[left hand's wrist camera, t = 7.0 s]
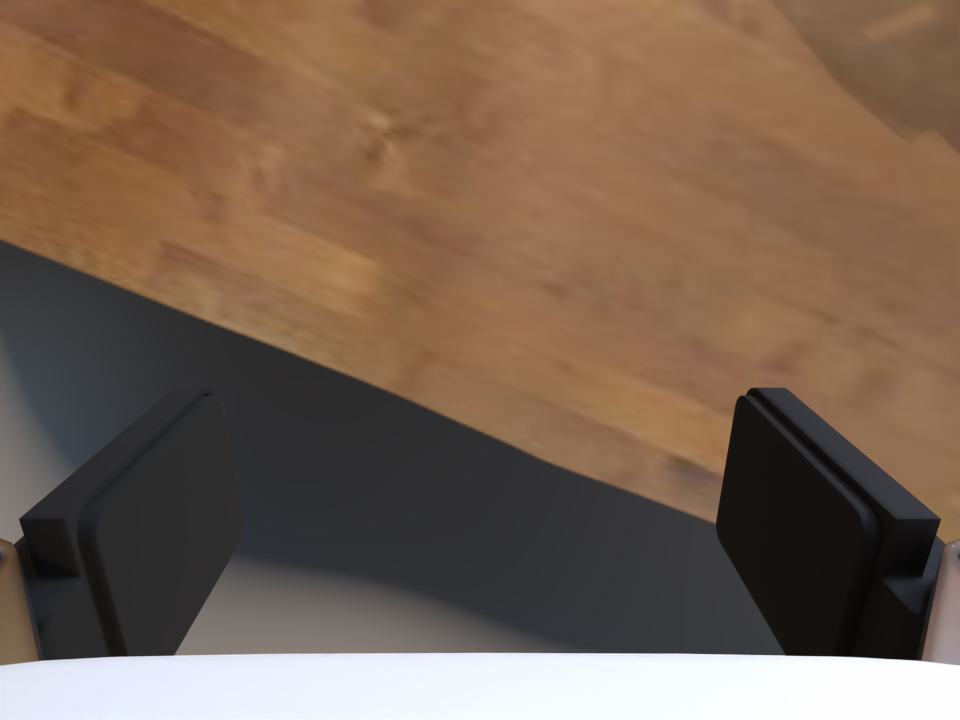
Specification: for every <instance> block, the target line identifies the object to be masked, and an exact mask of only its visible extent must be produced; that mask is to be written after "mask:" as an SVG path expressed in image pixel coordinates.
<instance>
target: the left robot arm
mask: <svg viewBox="0 0 960 720" xmlns="http://www.w3.org/2000/svg"><path fill="white" fill-rule="evenodd" d="M19 521H20V524H21V527H22V530H23V533H24V536H23V537H22V538H21V539H20V540H19V541H17V542H16V543H15V544H14V545H13V544H12V543H11V542H8V541H6V540H3V539H0V720H960V539H957V540H954V541H952V542H949V543H948V544H947V545H946V544H945V543H944V542H943V541H942V540H940V539H939V538H938V537H937V536H936V533H937V530H938V527H939V524H940V521H941V519H940V518H939V517H938V516H937V515H936V514H934V513H933V512H932V511H931V510H930V509H928V508H927V507H926V506H925V505H924V504H923V503H921V502H920V501H919V500H918V499H917V498H915V497H914V496H913V495H912V494H911V493H909V492H908V491H907V490H906V489H905V488H904V487H902V486H901V485H900V484H899V483H898V482H896V481H895V480H894V479H893V478H892V477H891V476H889V475H888V474H887V473H886V472H885V471H883V470H882V469H881V468H880V467H879V466H878V465H876V464H875V463H874V462H873V461H872V460H870V459H869V458H868V457H867V456H866V455H864V454H863V453H862V452H861V451H860V450H859V449H857V448H856V447H855V446H854V445H853V444H851V443H850V442H849V441H848V440H847V439H846V438H844V437H843V436H842V435H841V434H840V433H838V432H837V431H836V430H835V429H834V428H832V427H831V426H830V425H829V424H828V423H827V422H825V421H824V420H823V419H822V418H821V417H819V416H818V415H817V414H816V413H815V412H814V411H812V410H811V409H810V408H809V407H808V406H806V405H805V404H804V403H803V402H802V401H801V400H799V399H798V398H797V397H796V396H795V395H793V394H792V393H791V392H790V391H789V390H787V389H785V388H751V389H750V390H749V391H748V392H747V394H746V396H740V397H739V398H738V399H737V402H736V405H735V411H734V417H733V423H732V430H731V436H730V442H729V448H728V454H727V460H726V466H725V472H724V478H723V484H722V490H721V496H720V502H719V508H718V514H717V521H716V529H717V535H718V538H719V541H720V543H721V545H722V546H723V548H724V550H725V551H726V553H727V555H728V557H729V558H730V560H731V562H732V563H733V565H734V567H735V569H736V570H737V572H738V574H739V576H740V577H741V579H742V581H743V582H744V584H745V586H746V588H747V589H748V591H749V593H750V594H751V596H752V598H753V600H754V601H755V603H756V605H757V606H758V608H759V610H760V611H761V613H762V615H763V617H764V618H765V620H766V622H767V624H768V625H769V627H770V629H771V630H772V632H773V634H774V636H775V637H776V639H777V641H778V642H779V644H780V646H781V648H782V649H783V651H784V653H785V654H786V656H771V655H718V654H588V653H586V654H583V653H373V654H242V655H188V656H174V654H175V653H176V651H177V649H178V648H179V646H180V644H181V642H182V641H183V639H184V637H185V636H186V634H187V632H188V630H189V629H190V627H191V625H192V624H193V622H194V620H195V618H196V617H197V615H198V613H199V612H200V610H201V608H202V606H203V605H204V603H205V601H206V599H207V598H208V596H209V594H210V593H211V591H212V589H213V588H214V586H215V584H216V582H217V581H218V579H219V577H220V576H221V574H222V572H223V570H224V569H225V567H226V565H227V563H228V562H229V560H230V558H231V557H232V555H233V553H234V551H235V550H236V548H237V546H238V545H239V543H240V541H241V538H242V535H243V529H244V521H243V514H242V508H241V502H240V496H239V490H238V484H237V478H236V472H235V466H234V460H233V454H232V448H231V442H230V436H229V430H228V423H227V417H226V411H225V406H224V402H223V399H222V398H221V397H220V396H214V394H213V392H212V391H211V390H210V389H209V388H175V389H173V390H171V391H170V392H169V393H168V394H167V395H165V396H164V397H163V398H162V399H161V400H160V401H158V402H157V403H156V404H155V405H154V406H152V407H151V408H150V409H149V410H148V411H147V412H145V413H144V414H143V415H142V416H141V417H139V418H138V419H137V420H136V421H135V422H133V423H132V424H131V425H130V426H129V427H128V428H126V429H125V430H124V431H123V432H122V433H120V434H119V435H118V436H117V437H116V438H114V439H113V440H112V441H111V442H110V443H109V444H107V445H106V446H105V447H104V448H103V449H101V450H100V451H99V452H98V453H97V454H96V455H94V456H93V457H92V458H91V459H90V460H88V461H87V462H86V463H85V464H84V465H82V466H81V467H80V468H79V469H78V470H77V471H75V472H74V473H73V474H72V475H71V476H69V477H68V478H67V479H66V480H65V481H64V482H62V483H61V484H60V485H59V486H58V487H56V488H55V489H54V490H53V491H52V492H51V493H49V494H48V495H47V496H46V497H45V498H43V499H42V500H41V501H40V502H39V503H37V504H36V505H35V506H34V507H33V508H32V509H30V510H29V511H28V512H27V513H26V514H24V515H23V516H22V517H21V518H20V519H19Z"/></svg>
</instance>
